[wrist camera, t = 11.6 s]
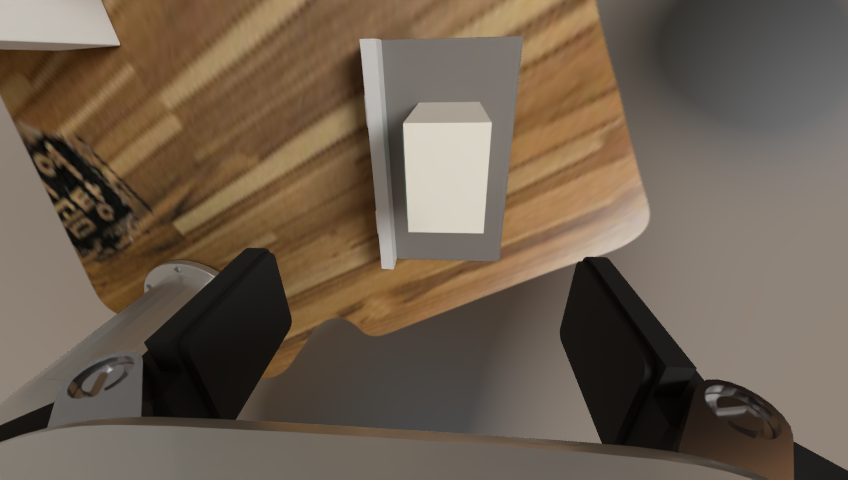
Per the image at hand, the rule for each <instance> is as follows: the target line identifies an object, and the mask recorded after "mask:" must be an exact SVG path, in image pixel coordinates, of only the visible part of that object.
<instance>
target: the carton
mask: <svg viewBox="0 0 848 480" xmlns="http://www.w3.org/2000/svg"><path fill="white" fill-rule="evenodd" d="M491 128H492V122H491V120H490V118H489V117H488V115H487V114H486V112H485V110H484V109H483V107H482V105H481V104H480V102H428V103H418V105H417V106H416V107H415V108H414V110H413V111H412V112H411V114H410V115H409V116H408V117H407V119H406V120H405V121H404V123H403V128H402V137H403V157H404V177H405V197H406V217H407V219H408V232H429V233H484V220H485V207H486V194H487V181H488V167H489V154H490V141H491Z"/></svg>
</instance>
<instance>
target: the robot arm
mask: <svg viewBox="0 0 848 480" xmlns="http://www.w3.org/2000/svg"><path fill="white" fill-rule="evenodd" d="M291 323H292V319H291V314H290V311H289V307H288V303H287V299H286V296H285V292H284V288H283V284H282V281H281V277H280V273H279V269H278V266H277V262H276V258H275V255H274V254H272V253H270V252H269V250H268V249H266V248H247V249H245V250H244V251H243V252H242V253H240V254H239V255H238V256H237V257H236V258H235V259H234V260H233V261H232V262H231V263H230V264H228V265H227V266H226V267H225V268H224V269H223V270H222V271H221V272H220V273H219V272H218V271H216V270H214V269H212V268H210V267H208V266H206V265H203V264H200V263H197V262H193V261H188V260H172V261H168V262H165V263H162V264H160V265H159V266H157V267H156V268H154V269H153V270H152V271H151V272H150V273H148V275H147V277H146V279H145V282H144V294H143V295H142V296H141V297H139V298H138V299H137V300H135V301H134V302H133V303H131V304H130V305H129V306H127V307H126V308H125V309H123V310H122V311H121V312H119V313H118V314H117V315H116V316H114V317H113V318H112V319H110V320H109V321H108V322H106V323H105V324H104V325H102V326H101V327H100V328H99V329H97V330H96V331H95V332H93V333H92V334H91V335H89V336H88V337H87V338H85V339H84V340H83V341H81V342H80V343H79V344H77V345H76V346H75V347H73V348H72V349H71V350H70V351H68V352H67V353H66V354H65V355H63V356H62V357H60V358H59V359H58V360H56V361H55V362H54V363H53V364H51V365H50V366H49V367H47V368H46V369H45V370H43V371H42V372H41V373H39V374H38V375H37V376H35V377H34V378H33V379H31V380H30V381H29V382H27V383H26V384H24V385H23V386H22V387H20V388H19V389H18V390H17V391H15V392H14V393H13V394H12V395H10V396H9V397H8V398H7V399H5V400H4V401H3V402H2V403H1V404H0V480H848V471H847V470H845V469H843V468H841V467H840V466H838V465H836V464H834V463H832V462H830V461H829V460H826V459H825V458H823V457H821V456H819V455H818V454H816V453H814V452H812V451H810V450H808V449H807V448H804V447H803V446H801V445H799V444H797V443H795V442H794V441H793V433H792V430H791V426H790V425H789V423H788V422H787V421H786V419H785V417H784V416H783V415H782V414H781V413H780V412H779V411H778V410H777V409H776V408H775V407H774V406H773V405H772V404H770V403H769V402H768V401H766V400H765V399H763V398H762V397H761V396H759V395H758V394H756V393H754V392H752V391H750V390H748V389H747V388H745V387H742V386H740V385H737V384H734V383H732V382H728V381H723V380H718V379H712V380H711V379H709V380H705V381H704V380H703V378H702V377H701V376H700V375H699V373H698V372H697V371H696V367H695V366H694V364H693V363H692V362H691V361H690V360H689V358H688V357H687V356H686V354H685V353H684V352H683V351H682V349H681V348H680V347H679V346H678V344H677V343H676V342H675V341H674V340H673V338H672V337H671V336H670V335H669V334H668V332H667V331H666V330H665V328H664V327H663V326H662V325H661V323H660V322H659V321H658V320H657V318H656V317H655V316H654V315H653V313H652V312H651V311H650V310H649V308H648V307H647V306H646V305H645V303H644V302H643V301H642V300H641V299H640V297H639V296H638V295H637V294H636V293H635V291H634V290H633V289H632V287H631V286H630V285H629V284H628V282H627V281H626V280H625V279H624V277H623V276H622V275H621V274H620V272H619V271H618V270H617V269H616V267H614V265H613V264H612V262H611V261H610V260H609V259H608V258H606V257H585V258H584V259H583V261H582V262H580V261H579V262H578V263H577V265H576V268H575V272H574V276H573V280H572V284H571V288H570V292H569V296H568V300H567V304H566V308H565V312H564V316H563V320H562V324H561V328H560V338H561V342H562V344H563V347H564V349H565V352H566V354H567V357H568V359H569V362H570V364H571V367H572V369H573V372H574V374H575V377H576V379H577V382H578V384H579V387H580V390H581V392H582V395H583V397H584V400H585V402H586V404H587V407H588V409H589V412H590V414H591V417H592V419H593V422H594V425H595V427H596V430H597V432H598V435H599V437H600V440H601V442H602V444H599V443H587V442H575V441H563V440H549V439H534V438H519V437H505V436H490V435H475V434H461V433H445V432H430V431H413V430H397V429H381V428H365V427H349V426H332V425H316V424H315V425H314V424H298V423H280V422H279V423H278V422H261V421H245V420H236V418H237V416H238V415H239V413H240V412H241V410H242V408H243V407H244V405H245V403H246V402H247V400H248V398H249V396H250V395H251V393H252V391H253V390H254V388H255V387H256V385H257V383H258V381H259V380H260V378H261V376H262V375H263V373H264V371H265V370H266V368H267V366H268V365H269V363H270V361H271V360H272V358H273V356H274V355H275V353H276V351H277V350H278V348H279V346H280V345H281V343H282V341H283V340H284V338H285V336H286V335H287V333H288V331H289V329H290V327H291Z"/></svg>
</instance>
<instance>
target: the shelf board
mask: <svg viewBox="0 0 848 480" xmlns="http://www.w3.org/2000/svg"><path fill="white" fill-rule="evenodd" d="M522 43H523V36H513V37H476V38H439V39H401V40H379V39H360V48H361V58H362V69H363V79H364V89H365V95H364V102H365V112H366V122H367V127H368V130H369V140H370V151H371V161H372V171H373V182H374V192H375V202H376V211H375V213H376V223H377V233H378V234H379V243H380V253H381V264H382V269H394V266H395V263H396V259H431V260H470V261H499V256H500V247H501V237H502V228H503V219H504V210H505V200H506V191H507V182H508V173H509V163H510V154H511V145H512V136H513V126H514V117H515V108H516V99H517V89H518V80H519V71H520V62H521V52H522ZM428 102H480V104H481V105H482V107H483V109H484V110H485V112H486V114H487V115H488V117H489V118H490V120H491V122H492V128H491V141H490V154H489V167H488V181H487V194H486V207H485V220H484V233H429V232H408V219H407V217H406V197H405V177H404V157H403V137H402V128H403V123H404V121H405V120H406V119H407V117H408V116H409V115H410V114H411V112H412V111H413V110H414V108H415V107H416V106H417V105H418V103H428Z"/></svg>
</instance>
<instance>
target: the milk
mask: <svg viewBox="0 0 848 480" xmlns="http://www.w3.org/2000/svg"><path fill="white" fill-rule="evenodd" d="M110 46H120V42H119V40H118V38H117V35H116V33H115V31H114V29H113V26H112V24H111V22H110V19H109V17H108V15H107V12H106V10H105V8H104V6H103V3H102V1H101V0H0V49H4V50H54V51H61V50H74V49H86V48H98V47H110Z"/></svg>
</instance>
